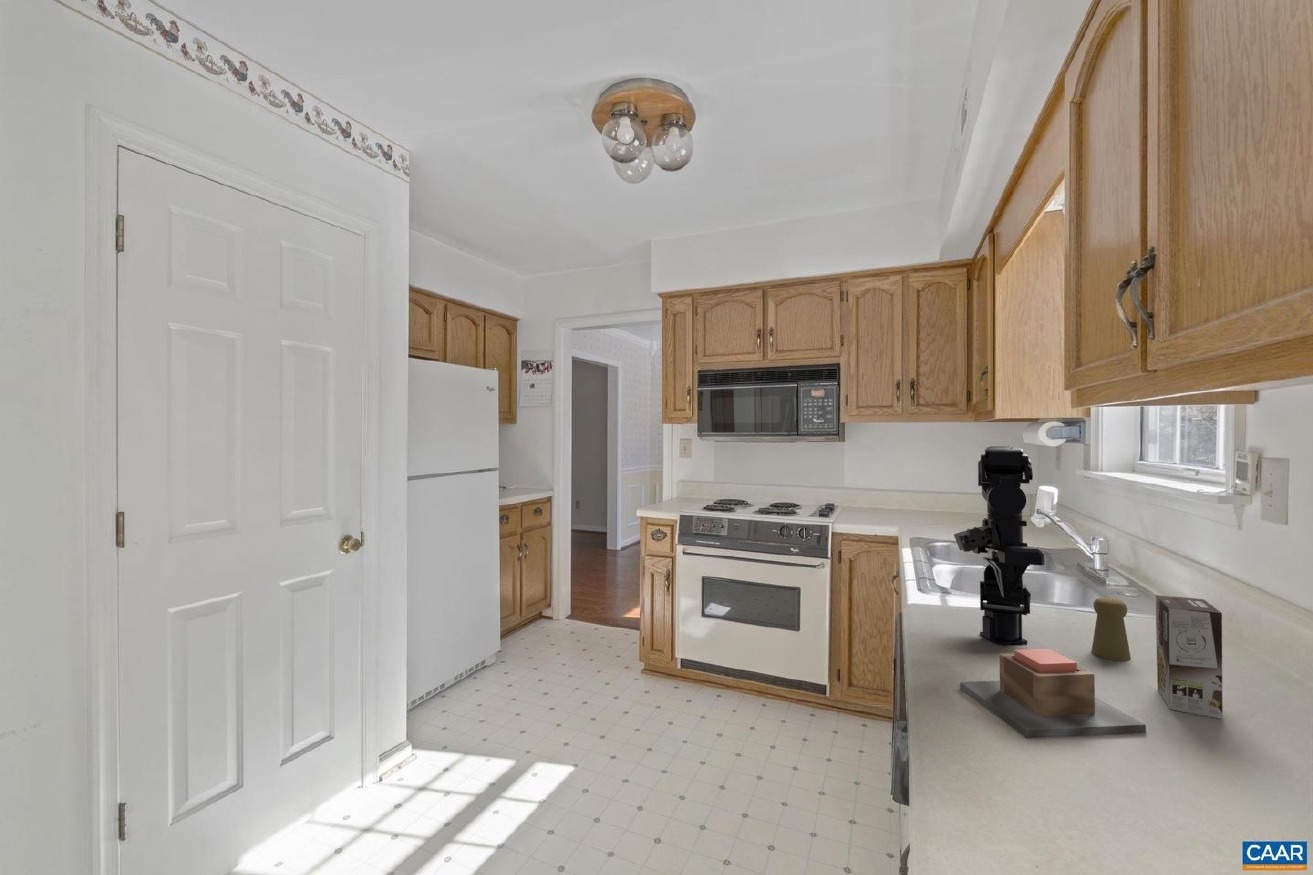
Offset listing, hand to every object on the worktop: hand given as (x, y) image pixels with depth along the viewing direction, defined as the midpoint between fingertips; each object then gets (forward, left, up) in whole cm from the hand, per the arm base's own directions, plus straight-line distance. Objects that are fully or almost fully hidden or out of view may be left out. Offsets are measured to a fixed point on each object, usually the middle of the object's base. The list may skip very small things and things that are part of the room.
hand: (1006, 597), depth 107 cm
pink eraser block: (+6, +17, -10) cm, 21 cm away
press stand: (+6, +17, -13) cm, 22 cm away
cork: (-23, -3, -13) cm, 27 cm away
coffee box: (-18, +17, -13) cm, 28 cm away
